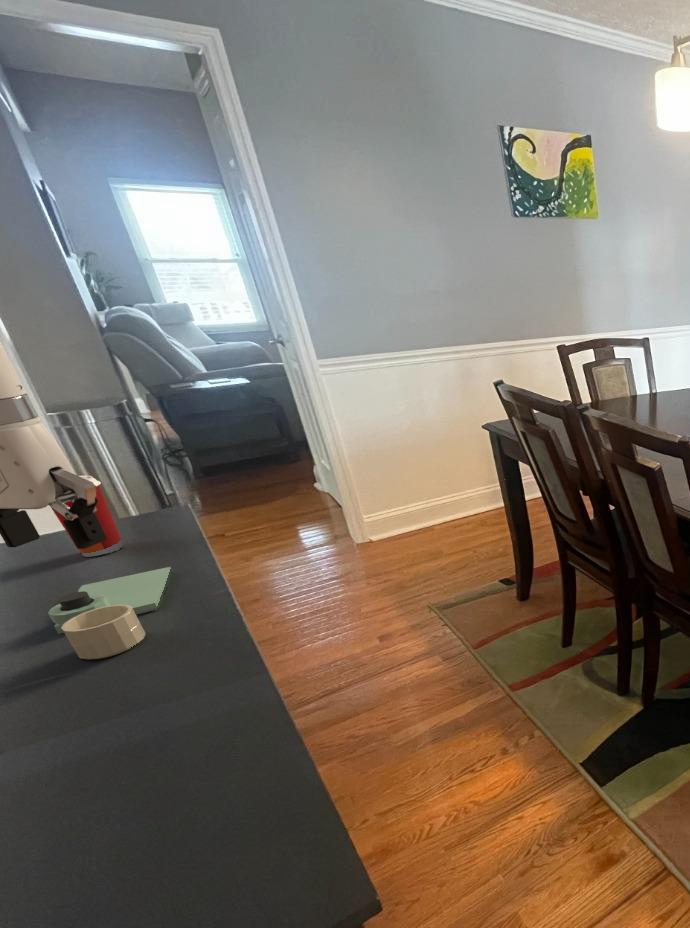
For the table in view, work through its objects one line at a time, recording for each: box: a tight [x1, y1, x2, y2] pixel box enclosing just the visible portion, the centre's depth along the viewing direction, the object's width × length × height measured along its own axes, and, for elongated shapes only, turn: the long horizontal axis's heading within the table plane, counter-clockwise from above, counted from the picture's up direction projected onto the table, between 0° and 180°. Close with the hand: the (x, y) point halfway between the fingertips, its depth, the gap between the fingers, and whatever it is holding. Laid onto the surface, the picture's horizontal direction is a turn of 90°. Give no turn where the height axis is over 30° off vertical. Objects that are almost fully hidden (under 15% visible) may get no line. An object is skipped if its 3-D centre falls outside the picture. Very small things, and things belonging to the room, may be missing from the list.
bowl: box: [61, 604, 146, 660], centre depth 83 cm, size 7×7×5 cm
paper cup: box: [49, 475, 122, 554], centre depth 110 cm, size 8×8×14 cm
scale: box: [47, 566, 172, 635], centre depth 94 cm, size 12×16×3 cm
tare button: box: [58, 591, 92, 611], centre depth 88 cm, size 3×3×2 cm
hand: (58, 543), depth 78 cm, fingers open, 9 cm apart
